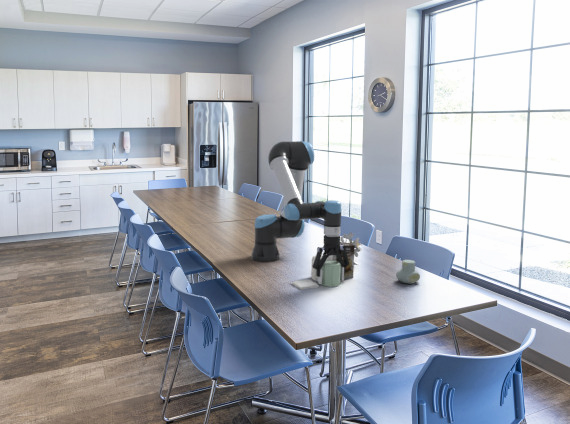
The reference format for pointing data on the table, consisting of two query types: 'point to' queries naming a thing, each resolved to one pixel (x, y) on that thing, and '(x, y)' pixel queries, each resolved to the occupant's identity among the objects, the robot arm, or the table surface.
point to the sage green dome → (331, 273)
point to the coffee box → (350, 255)
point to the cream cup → (313, 271)
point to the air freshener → (408, 272)
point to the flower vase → (351, 243)
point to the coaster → (305, 284)
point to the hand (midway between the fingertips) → (330, 281)
